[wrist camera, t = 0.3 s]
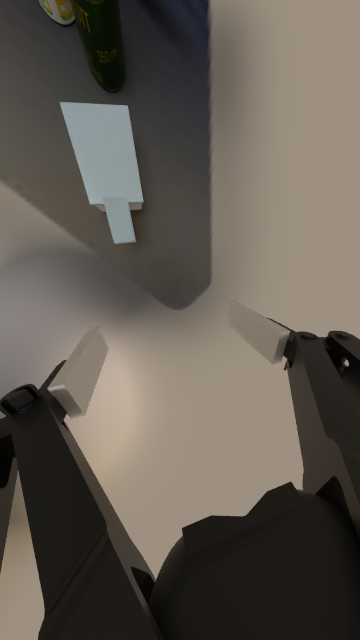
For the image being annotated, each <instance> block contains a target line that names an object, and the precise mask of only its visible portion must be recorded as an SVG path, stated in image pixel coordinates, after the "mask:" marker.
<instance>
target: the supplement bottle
mask: <svg viewBox="0 0 360 640" xmlns="http://www.w3.org/2000/svg"><path fill="white" fill-rule="evenodd" d="M38 1H39V2H40V4H41V6H42V7H43V9H44V10H45V11H46V13H47V14H48V15H49V16H50V17H51V18H52V19H53V20H55V21H56V22H58V23H60V24H64V25H67V24H70V23H72V22H73V21H74V19H75V17H74V14H73V10H72V7H71V4H70V0H38Z"/></svg>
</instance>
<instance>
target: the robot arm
mask: <svg viewBox="0 0 360 640" xmlns="http://www.w3.org/2000/svg"><path fill="white" fill-rule="evenodd" d="M227 324H228V325H229V326H230V327H231V328H232V329H233V330H234V331H236V333H238V334H239V335H240V336H241V337H242V338H243V339H244V340H245V341H247V342H248V343H249V344H250V345H251V346H252V347H253V348H255V349H256V350H257V351H258V352H259V353H260V354H261V355H263V356H264V357H265V358H266V359H267V360H268V361H269V362H270V363H271V364H275V363H279V362H281V361H282V357H283V356H285V357H286V358H287V361H286V364H285V367H284V370H286V369H287V370H288V376H289V382H290V388H291V394H292V400H293V405H294V411H295V418H296V424H297V430H298V435H299V442H300V447H301V454H302V459H303V467H304V473H303V491H302V490H298V489H296V488H295V487H294V485H293V484H292V482H289V483H286V484H284V485H282V486H279V487H277V488H275V489H272V490H270V491H268V492H266V493H265V494H264V496H263V497H262V498H261V499H260V500H259V501H258V502H257V504H256V505H255V506H254V507H253V508H252V510H251V511H250V512H249V513H248V514H247V515H246V516H242V517H240V516H209V517H207V518H204V519H202V520H200V521H197V522H195V523H193V524H190V525H188V526H186V527H183V528H182V532H183V536H182V537H181V538H180V539H179V540H178V541H177V542H176V544H175V545H174V547H173V548H172V549H171V551H170V552H169V554H168V556H167V558H166V560H165V561H164V563H163V565H162V567H161V570H160V572H159V574H158V577H157V579H155V577H154V575H153V574H152V572H151V570H150V569H149V567H148V565H147V563H146V561H145V560H144V558H143V557H142V555H141V553H140V552H139V550H138V549H137V548H136V546H135V545H134V543H133V542H132V540H131V539H130V537H129V536H128V534H127V532H126V530H125V528H124V526H123V525H122V523H121V521H120V519H119V517H118V516H117V514H116V512H115V510H114V509H113V507H112V505H111V503H110V501H109V500H108V498H107V496H106V494H105V492H104V491H103V489H102V487H101V485H100V484H99V482H98V480H97V478H96V476H95V475H94V473H93V471H92V469H91V467H90V466H89V464H88V462H87V460H86V458H85V457H84V455H83V453H82V451H81V449H80V448H79V446H78V444H77V442H76V441H75V439H74V437H73V435H72V433H71V432H70V430H69V428H68V426H67V425H66V423H65V422H64V418H65V416H66V414H68V415H69V417H70V418H71V419H73V418H77V417H80V416H84V415H85V413H86V411H87V407H88V405H89V402H90V399H91V397H92V394H93V391H94V388H95V385H96V383H97V380H98V377H99V374H100V371H101V368H102V366H103V363H104V360H105V357H106V354H107V351H108V347H107V345H106V342H105V340H104V337H103V335H102V333H101V330H100V328H99V326H95V327H90V328H89V329H88V331H87V332H86V334H85V335H84V337H83V338H82V340H81V341H80V342H79V344H78V345H77V346H76V348H75V349H74V351H73V352H72V354H71V355H70V356H69V358H68V359H67V360H64V361H62V362H61V363H60V364H59V365H58V366H56V368H55V369H54V370H53V372H52V373H51V374H50V376H49V377H48V379H47V380H46V381H45V382H44V384H43V385H42V386H41V388H40V389H39V390H38V389H37V388H36V387H35V386H34V385H33V384H27V385H24V386H21V387H18V388H16V389H14V390H13V391H11V392H10V393H8V394H7V395H5V396H4V397H3V398H2V399H1V400H0V411H1V412H2V413H4V414H5V415H6V417H4V418H2V419H0V572H1V566H2V560H3V554H4V548H5V542H6V537H7V531H8V525H9V519H10V513H11V507H12V501H13V495H14V490H15V483H16V478H17V472H18V470H19V476H20V481H21V486H22V491H23V496H24V501H25V507H26V511H27V517H28V522H29V527H30V532H31V537H32V543H33V548H34V553H35V558H36V563H37V568H38V573H39V579H40V584H41V589H42V594H43V599H44V607H45V615H44V620H43V623H42V625H41V628H40V631H39V636H38V640H360V340H359V339H358V338H357V337H355V336H353V335H351V334H348V333H347V332H343V331H330V332H329V334H328V336H327V337H318V336H316V335H314V334H312V333H309V332H295V331H293V330H291V329H289V328H287V327H286V326H284V325H281V324H280V323H277V322H276V321H274V320H272V319H269V318H266V317H264V316H262V315H260V314H258V313H257V312H255V311H253V310H251V309H249V308H247V307H246V306H244V305H242V304H240V303H238V302H237V301H230V302H229V303H228V319H227ZM346 359H347V360H348V362H349V366H348V367H347V366H346V365H345V364H344V362H345V361H346Z"/></svg>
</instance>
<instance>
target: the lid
mask: <svg viewBox="0 0 360 640" xmlns="http://www.w3.org/2000/svg"><path fill="white" fill-rule="evenodd" d="M60 105H61V108H62V112H63V115H64V118H65V122H66V125H67V128H68V132H69V135H70V138H71V142H72V145H73V148H74V152H75V155H76V158H77V162H78V165H79V168H80V172H81V175H82V178H83V182H84V185H85V188H86V192H87V195H88V199H89V202H90V204H91V205H92V206H93V205H104V206H105V210H106V214H107V217H108V221H109V225H110V229H111V232H112V236H113V240H114V243H115V244H125V243H135V242H136V237H135V233H134V228H133V223H132V218H131V213H130V208H129V204H132V203H143V196H142V190H141V184H140V177H139V171H138V165H137V159H136V153H135V147H134V141H133V135H132V129H131V123H130V117H129V111H128V106H125V105H106V104H88V103H69V102H60Z"/></svg>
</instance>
